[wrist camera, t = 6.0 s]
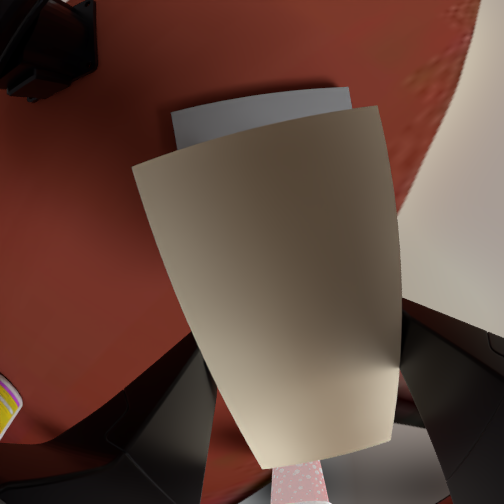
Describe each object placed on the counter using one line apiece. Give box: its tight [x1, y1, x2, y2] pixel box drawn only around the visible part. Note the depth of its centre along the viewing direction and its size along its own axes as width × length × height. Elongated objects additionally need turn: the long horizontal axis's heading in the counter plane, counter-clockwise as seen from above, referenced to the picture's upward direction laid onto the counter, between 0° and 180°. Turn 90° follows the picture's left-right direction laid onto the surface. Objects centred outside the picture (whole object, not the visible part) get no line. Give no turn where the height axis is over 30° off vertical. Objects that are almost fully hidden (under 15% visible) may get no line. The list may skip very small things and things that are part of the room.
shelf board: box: [132, 106, 402, 469], centre depth 8 cm, size 5×11×3 cm, turn 15°
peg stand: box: [171, 87, 352, 150], centre depth 16 cm, size 16×10×4 cm, turn 9°
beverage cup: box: [271, 460, 331, 504], centre depth 20 cm, size 6×6×14 cm
